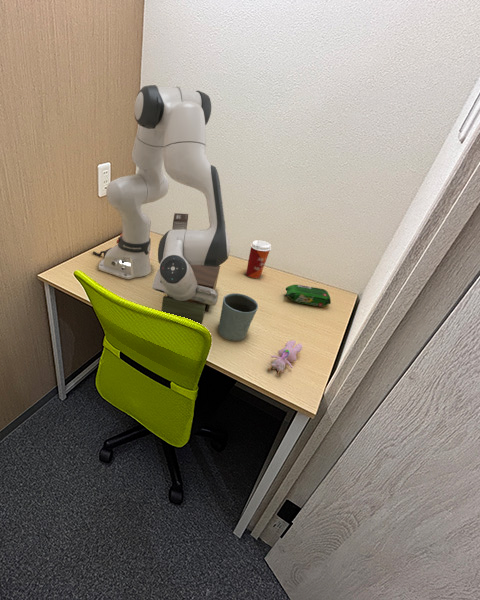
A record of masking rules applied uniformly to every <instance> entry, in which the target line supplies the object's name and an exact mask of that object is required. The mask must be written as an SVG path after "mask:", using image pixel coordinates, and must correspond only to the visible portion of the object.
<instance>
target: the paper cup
mask: <svg viewBox="0 0 480 600" xmlns="http://www.w3.org/2000/svg"><path fill="white" fill-rule="evenodd" d="M271 250H272V244H271V243H270V242H268V241H265V240H260V239H259V240H258V239H257V240H256V239H255V240H253V241H252V243H250V250H249V256H248V261H247V265H246V266H247V267H246V273H245V274H246V276H247V277H248V278H252V279H258V278H260V277H261V275H262V273H263V270H264V268H265V265H266V263H267V259H268V257H269V254H270V251H271Z"/></svg>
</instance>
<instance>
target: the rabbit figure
mask: <svg viewBox="0 0 480 600" xmlns="http://www.w3.org/2000/svg"><path fill="white" fill-rule="evenodd" d="M296 342H297V341H296V340H288V341H287V342H286V343H285V346H284V347H283V348H281V349H279V350H278V351H277V354H278V355H270V358H272V359H274V358H275V359H274V360H273V361H271V363H270V366H269V367H268V368H267V370H268V371H269V372H272V370H277V373H276V377H279V376H280V373H283V372H284V371H285V369H286V365H289V368H290V369H293V365H292V363H293V362H297V355H298V354H299V353H300V352H301V351H302V349H303V344H302V343H300V342H299V343H297V344H296ZM271 369H272V370H271Z"/></svg>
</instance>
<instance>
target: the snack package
mask: <svg viewBox="0 0 480 600" xmlns="http://www.w3.org/2000/svg"><path fill="white" fill-rule="evenodd" d="M285 291H286V293H285V294H284V297H288V298H289V299H290V300H291V301H293V302H294V303H299V304H304V305H309V306H315V307H326V306H329V305H332V304H331V303H332V300H331V296H330V293H329V292H328V291H327V290H326V289H324V288H321V287H313V286H307V285H304V284H303V285H302V284H291V285H288V286H286V287H285Z"/></svg>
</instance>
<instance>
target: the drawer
mask: <svg viewBox="0 0 480 600" xmlns="http://www.w3.org/2000/svg"><path fill="white" fill-rule="evenodd" d="M207 288H208V287H207ZM205 307H206V304H205V303H201V302H197V301H195V303H194V302H189V301H178V300H176V299H174V298H172V297H170V296H169V295H167V294H166V295H163V296H162V304H161V312H162V311H163V312H166V313H170V314H174V315H177V316H181V317H185V318H188V319H191V320H193V321H195V322H198V323H200V324H202V325H203V321H204V315H205V312H206V311H205Z"/></svg>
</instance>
